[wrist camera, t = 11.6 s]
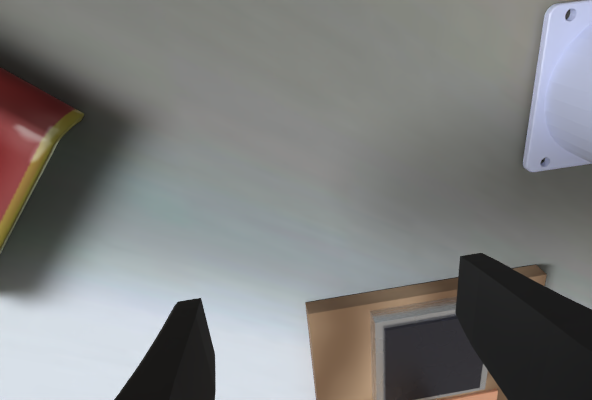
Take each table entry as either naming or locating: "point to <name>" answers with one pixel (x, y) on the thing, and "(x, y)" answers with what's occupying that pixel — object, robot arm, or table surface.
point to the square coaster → (476, 396)
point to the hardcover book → (26, 143)
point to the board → (368, 335)
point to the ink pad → (422, 353)
